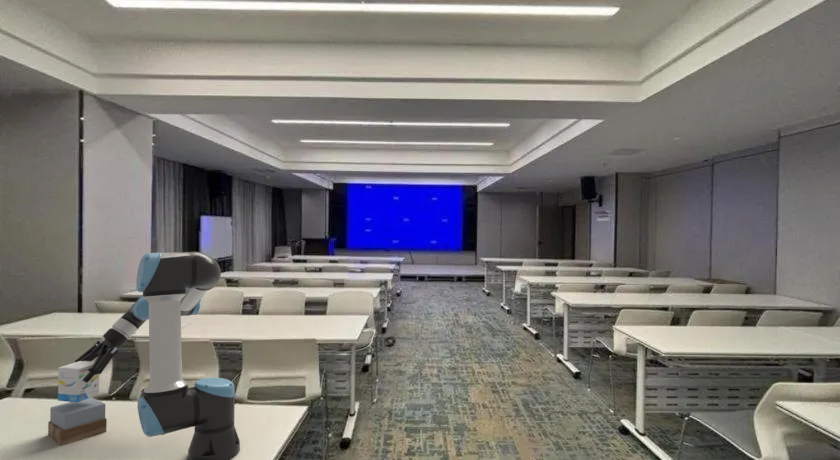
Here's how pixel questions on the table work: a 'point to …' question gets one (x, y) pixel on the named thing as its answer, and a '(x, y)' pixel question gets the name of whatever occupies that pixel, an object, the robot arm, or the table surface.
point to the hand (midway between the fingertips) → (69, 386)
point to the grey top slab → (77, 413)
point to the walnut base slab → (76, 431)
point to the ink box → (70, 376)
